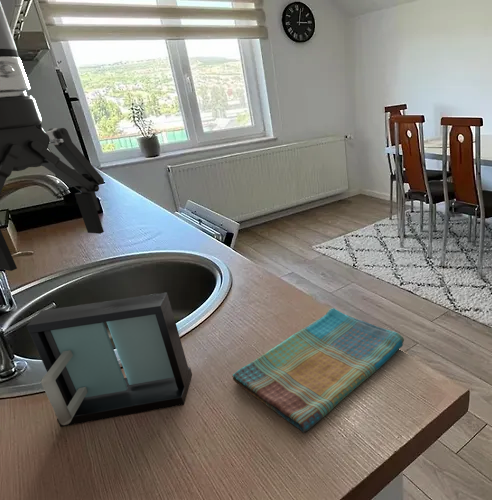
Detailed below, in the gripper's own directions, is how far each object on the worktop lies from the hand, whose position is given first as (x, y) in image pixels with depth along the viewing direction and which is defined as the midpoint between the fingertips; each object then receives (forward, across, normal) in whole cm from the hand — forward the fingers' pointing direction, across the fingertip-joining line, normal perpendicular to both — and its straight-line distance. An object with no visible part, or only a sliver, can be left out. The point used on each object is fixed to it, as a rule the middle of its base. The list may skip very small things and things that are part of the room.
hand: (56, 249), depth 61 cm
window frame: (+22, -4, -10) cm, 25 cm away
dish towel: (+23, +11, -36) cm, 44 cm away
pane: (+20, -9, -9) cm, 24 cm away
